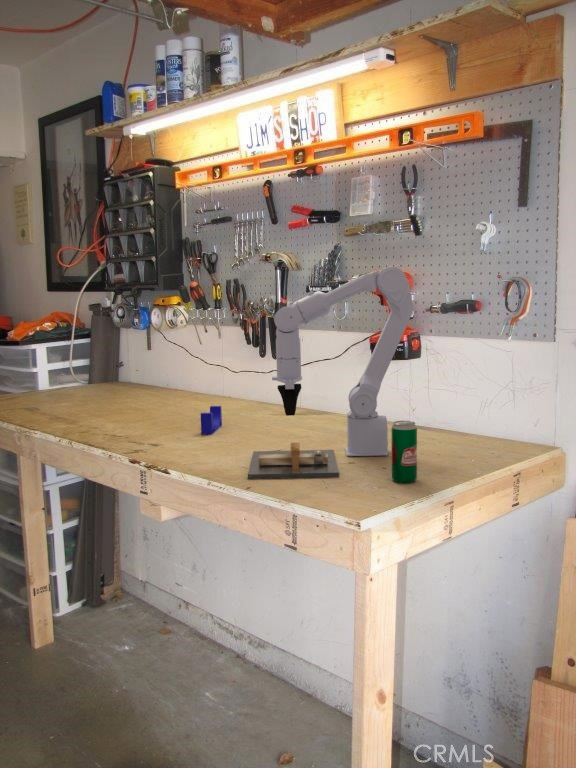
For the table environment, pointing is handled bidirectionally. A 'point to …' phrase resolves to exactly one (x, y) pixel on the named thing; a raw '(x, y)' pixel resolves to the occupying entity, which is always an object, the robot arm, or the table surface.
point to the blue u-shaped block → (211, 420)
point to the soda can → (404, 452)
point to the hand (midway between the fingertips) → (290, 414)
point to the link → (287, 459)
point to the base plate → (293, 465)
